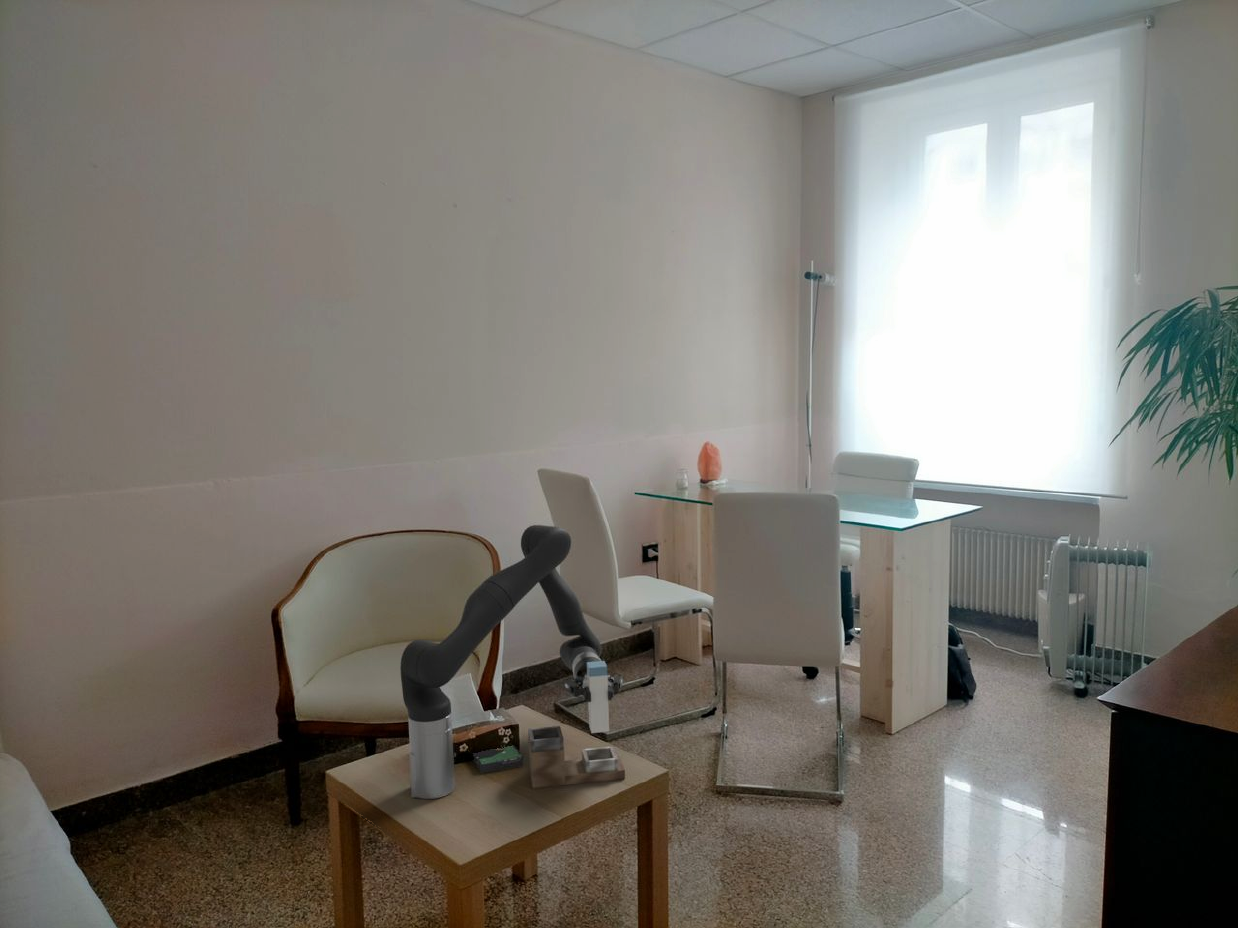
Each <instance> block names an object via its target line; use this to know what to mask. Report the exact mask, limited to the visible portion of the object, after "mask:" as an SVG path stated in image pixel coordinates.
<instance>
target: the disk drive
mask: <svg viewBox="0 0 1238 928" xmlns="http://www.w3.org/2000/svg"><path fill="white" fill-rule="evenodd" d="M473 757H474V762H473V763H474V765H475V767H476V768H477V770H478V772H479V774H481V775H482V774H487V773H492V772H497V771H503V770H508V768H509V769H513V768H517V767H518V768H519V767H523V766H524V758H523V756H522V754H521V752H520V751H519V750H518V748H517V747H516V746H515V744H514V745H512V746H507V747H504V748H503V747H502V748H497V749H490V750H486V751H481V752H478V753H473Z"/></svg>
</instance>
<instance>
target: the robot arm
mask: <svg viewBox="0 0 1238 928" xmlns="http://www.w3.org/2000/svg"><path fill="white" fill-rule="evenodd" d="M571 547H572V537H571V535H570V534H569V532H568V531H567V530H565V529H564V528H561V527H559V526H552V525H543V524H533V525H530V526H528V527H527V528H525V530H523V533H522V535H521V538H520V548H521V552H522V554H523V557H524V558H523V559H521V560H519V561H518V562H516V563H514V564H512V565H510V566H507V567H506V568H503V569H501V570H499V571H496V572H495V573H493V574H492V575H490V576H489V577H487V578H486V579H485V580H484V581H483V582H482V583H481V584H480V585H479V586H478V587H476V588H475V590H473V592H472V593H471V594H470V595H469V596H468V598H467V600H466V602H465V605H464V608H463V611H462V615H461V620H460V622H459V624H458V625H457V626H456V628H455V629H454V630H453V631H452V632H451V633H450V634H449V635H448V636H447V637H446V638H445V639H443V640H442V641H441V642H439V643H438V642H434V641H429V640H426V639H416V640H413V641H411V642H410V643H409V644H407V645H406V647H405V648H404V650H403V653H402V655H401V659H400V679H401V689H402V698H403V703H404V705H405V707H406V710H407V716H408V717H407V719H408V735H409V736H408V737H409V756H408V757H409V771H410V789H411V790H410V791H411V798H419V799H426V800H427V799H428V800H430V799H438V798H439V799H440V798H442V797H446V796H447V795H449V794H450V795H451V793H452V792H454V790H455V788H456V784H455V779H456V778H455V764H454V763H455V760H454V741H453V740H454V739H453V724H452V723H453V720H452V702H451V700H450V698H449V697H448V696H447V695H446V694H445V693H444V692H443V690H442V687H443V686H445V685H447V684H448V683H449V682H450V681H451V680H452V679H453V678H454V677H455V676H456V674H457V673H458V672H459V671H460V670H461V667H462V666H463V665H464V664H465V663H466V662H467V660H468V659H469V657H470V656H471V655H472V654H473V652H474V651H475V650H476V649H477V648H478V647H479V645H480V644H481V643H482V642H483V641H484V640H485V639H486V637H487V636H488V635H489V634H490V633H491V632H492V631H493V630H494V629H495V627H497V626H498V625H499V624H500V623H502V621H503V620H504V619H505V618H506V617H507V616H508V615H509V614H510V613H511V612H512V610H514V608H516V606H517V605H518V603H520V602H521V600H522V599H524V598H525V596H527V595H528V594H529V592H530V591H532V589H534V587H535V586H536V585H537V584H539V586H540V588H541V589H542V591H543V593H544V595H545V597H546V600H547V601H548V604H549V607H550V608H551V611H552V614H553V616H554V620H555V622H556V626H557V628H558V631H559V633H560V634H561V635H562V636H564V637H573V636H575V637H573V638H572V639H568V640H566V641H564V642H563V643H562V644H561V645H560V648H559V655H560V659H561V661H562V662H563V664H564V665H565V667H567V668H568V669H570V670H571V671H572V676H573V678H574V679H570V678H565V679H564V688H565V691H566V692H567V693H569V694H570V695H572V696H573V697H575V698H579V697H580V696H582V698H583V700H585V701H587V703H588V702H591V692H590V690H589V688H588V682H587V662H596V661H602V659H601V658H600V656H601V654H602V649H603V648H602V645H601V642H600V641H599V638H598V637H597V636H596V634H595V633H593V630H591V628H590V627H589V624H587V621H586V619H585V617H584V614H583V611H582V607H581V605H580V602H579V600H578V597H577V595H576V594H575V593H574V591H573V590H572V589H571V588H570V586H569V585H568V584H567V582H566V581H565V580H564V578H563V577H562V576H561V575H560V573H559V572H558V570H557V567H559V566H560V564H562V563H563V562H564V561H565V559H566V558H567V556H569V553H570V550H571ZM607 679H608V701H612V699H614V697H615V694H619V693H620V691H621V689H622V687H623V674H621V673H618V674H616V675H614V677H613V676H611V674H608V673H607Z"/></svg>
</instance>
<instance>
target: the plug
mask: <svg viewBox="0 0 1238 928" xmlns="http://www.w3.org/2000/svg"><path fill="white" fill-rule="evenodd" d="M607 674H608V666H607V663H606V661H605V660H601V661H596V662H587V682H588V688H589V690H590V692H591V702H588V701H587V705H588V727H589V730H590V732H591V734H596V733H597V734H598V733H607V732H610V714H609V713H610V710H609V709H610V708H609V700H608V679H607Z"/></svg>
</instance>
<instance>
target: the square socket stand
mask: <svg viewBox="0 0 1238 928" xmlns="http://www.w3.org/2000/svg"><path fill="white" fill-rule="evenodd" d="M527 732H528V755H529V757H528V759H529V774H530V780H531V781H530V782H531V786H532V789H537V788H544V787H545V788H547V787H556V786H565V785H577V784H586V783H595V782H596V783H597V782H605V781H615V780H624V779H623V778H625V779H626V770H625V767H624V764H623V763H622V760H621V758H620V755H617V753H616V750H615V748H614V746H601V747H592V748H582V749H581V758H580V759H568V760H565V749H564V748H565V745H564V743H565V742H564V735H563V733H562V732H563V730H562V728H561V726H560V725H555V726H543V727H535V728H533V727H531V728H528V731H527Z"/></svg>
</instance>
